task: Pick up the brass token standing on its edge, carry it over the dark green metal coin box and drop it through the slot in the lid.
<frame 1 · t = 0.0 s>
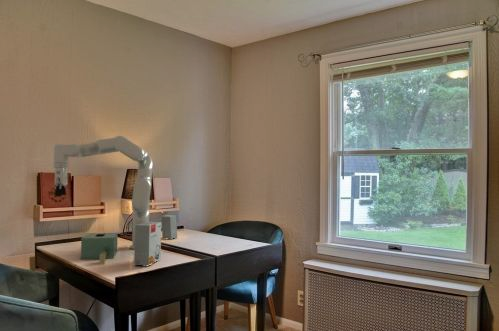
hand: (60, 195, 228), 31 cm above the table, tool pointing down, fingers open, 9 cm apart
hard drive box: (147, 263, 199), on the table
skincare box: (169, 238, 269), on the table
token: (102, 262, 198), on the table
coin box: (99, 255, 214), on the table
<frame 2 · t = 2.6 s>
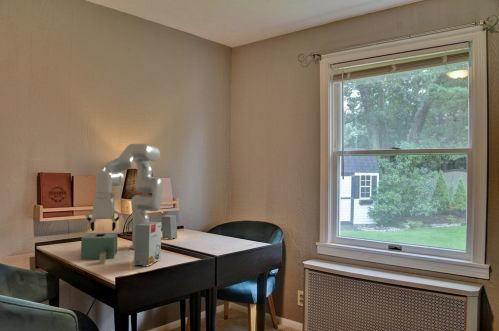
hand: (103, 230, 198), 16 cm above the table, tool pointing down, fingers open, 9 cm apart
nothing on the table moved.
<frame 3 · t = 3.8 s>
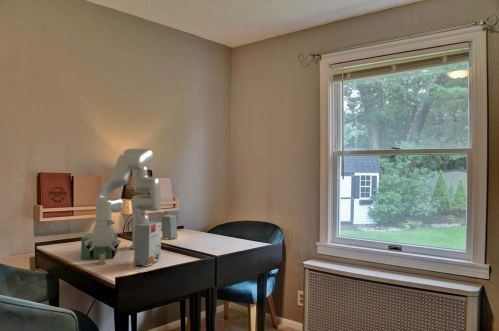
hand: (102, 258, 198), 2 cm above the table, tool pointing down, fingers open, 9 cm apart
nothing on the table moved.
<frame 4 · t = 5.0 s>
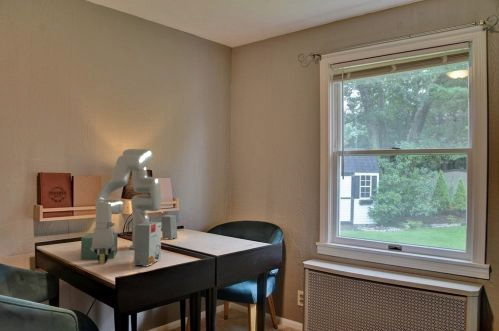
hand: (102, 262, 198), 0 cm above the table, tool pointing down, fingers closed on token, 1 cm apart
token: (102, 262, 198), on the table, touching gripper
everything else where it was.
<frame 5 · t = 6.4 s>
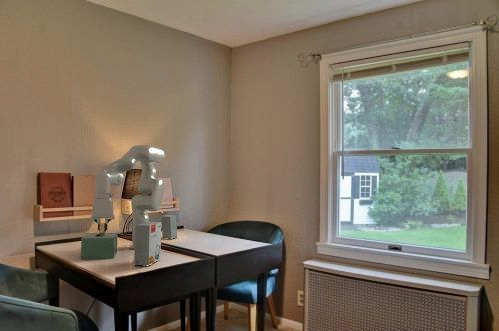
hand: (102, 231, 206), 15 cm above the table, tool pointing down, fingers closed on token
token: (102, 234, 204), point 13 cm above the table, tilted 27°, touching gripper
everything else where it was.
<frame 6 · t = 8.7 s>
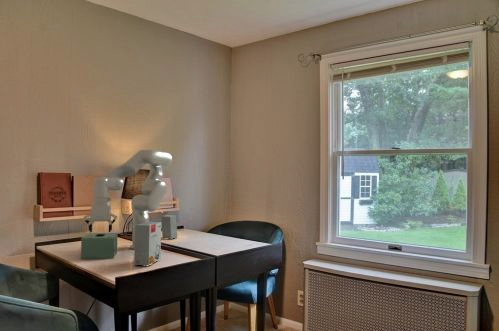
hand: (100, 231, 214), 13 cm above the table, tool pointing down, fingers open, 9 cm apart
token: (108, 252, 214), point 2 cm above the table, tilted 90°, touching coin box
everything else where it was.
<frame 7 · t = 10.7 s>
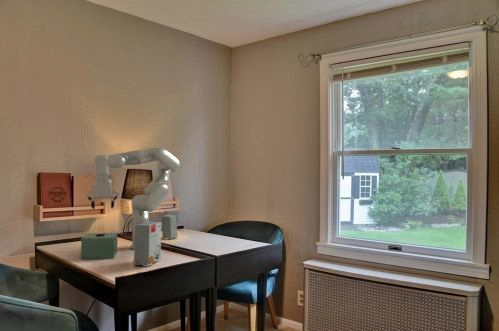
hand: (102, 208, 219), 25 cm above the table, tool pointing down, fingers open, 9 cm apart
nothing on the table moved.
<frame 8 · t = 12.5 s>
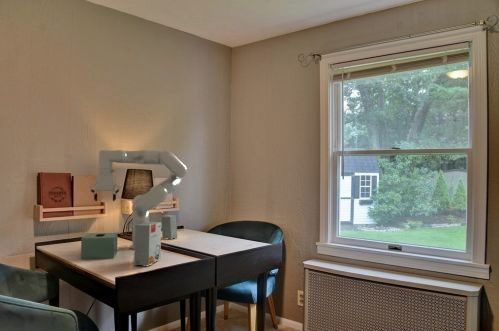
hand: (105, 201, 229), 28 cm above the table, tool pointing down, fingers open, 9 cm apart
nothing on the table moved.
at the end: token inside the target area on the coin box (4.4 cm from its centre), point 1.7 cm above the coin box's base; the gripper is holding nothing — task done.
